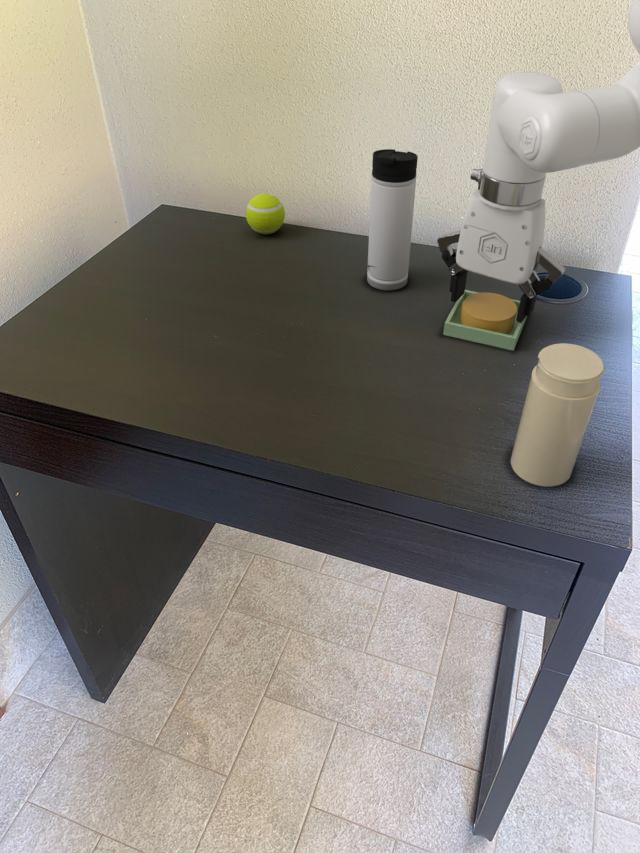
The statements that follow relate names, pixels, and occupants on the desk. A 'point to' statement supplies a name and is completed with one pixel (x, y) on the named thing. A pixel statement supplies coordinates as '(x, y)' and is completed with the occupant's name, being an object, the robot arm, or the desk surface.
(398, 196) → the travel mug
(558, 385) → the jar
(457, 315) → the tray
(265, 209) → the tennis ball
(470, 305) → the lid
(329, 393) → the desk surface
